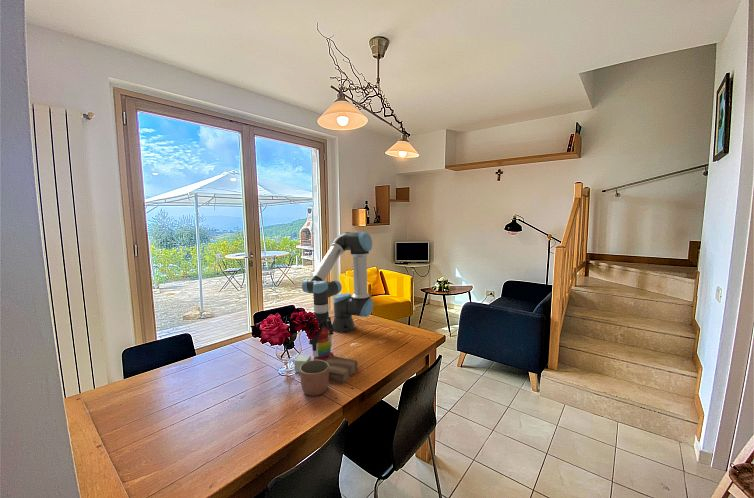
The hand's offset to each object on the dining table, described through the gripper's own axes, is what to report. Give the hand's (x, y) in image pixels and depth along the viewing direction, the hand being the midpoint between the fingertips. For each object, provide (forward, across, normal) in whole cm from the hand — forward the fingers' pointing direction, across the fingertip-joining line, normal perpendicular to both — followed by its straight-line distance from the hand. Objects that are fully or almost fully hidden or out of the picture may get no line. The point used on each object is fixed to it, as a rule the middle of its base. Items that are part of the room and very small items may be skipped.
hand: (322, 351), depth 161 cm
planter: (+5, +26, +13) cm, 29 cm away
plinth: (+5, +10, +15) cm, 19 cm away
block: (+5, +13, -3) cm, 14 cm away
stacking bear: (+5, 0, 0) cm, 5 cm away
